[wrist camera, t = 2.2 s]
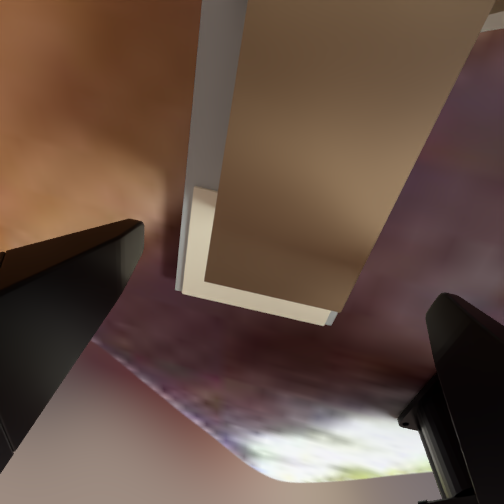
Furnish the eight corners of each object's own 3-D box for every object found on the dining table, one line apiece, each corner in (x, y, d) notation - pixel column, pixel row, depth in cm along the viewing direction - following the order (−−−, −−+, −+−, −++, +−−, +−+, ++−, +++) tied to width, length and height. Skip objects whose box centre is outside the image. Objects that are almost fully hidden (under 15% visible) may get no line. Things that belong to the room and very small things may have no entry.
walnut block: (324, 238, 16) (340, 312, 11) (229, 216, 16) (203, 281, 11) (497, -205, 8) (772, -558, 4) (316, -253, 8) (354, -685, 3)
